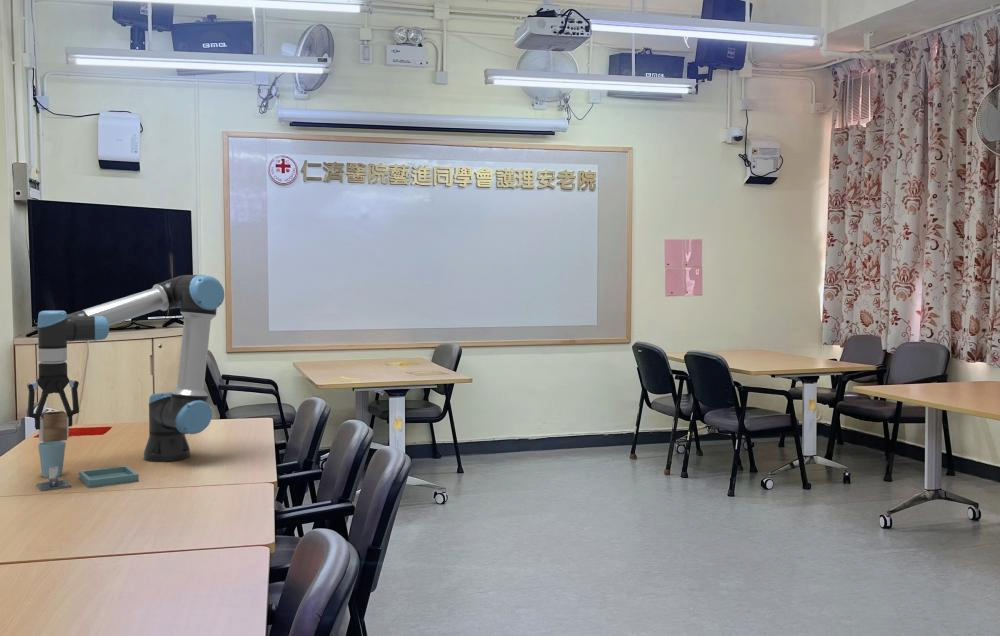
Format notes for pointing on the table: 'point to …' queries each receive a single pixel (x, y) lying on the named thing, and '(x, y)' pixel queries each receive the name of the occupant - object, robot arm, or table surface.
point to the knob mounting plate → (53, 481)
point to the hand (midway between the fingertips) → (54, 438)
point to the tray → (108, 476)
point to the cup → (51, 456)
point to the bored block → (54, 426)
